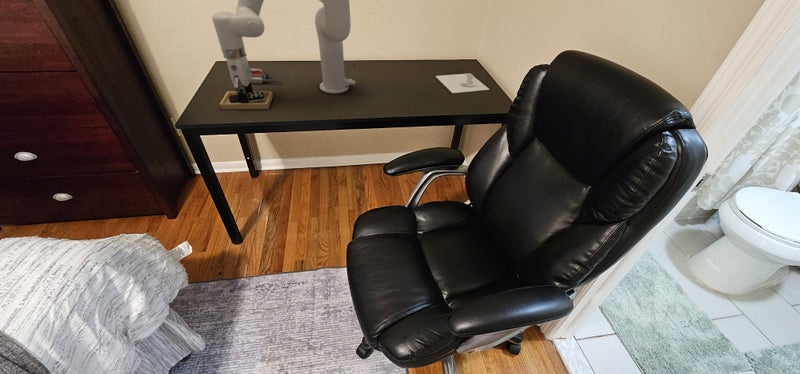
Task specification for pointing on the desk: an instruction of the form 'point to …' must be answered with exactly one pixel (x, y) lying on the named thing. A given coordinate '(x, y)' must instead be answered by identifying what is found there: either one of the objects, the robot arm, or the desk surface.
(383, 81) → the desk surface
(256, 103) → the tray
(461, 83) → the teacup and saucer
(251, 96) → the remote control
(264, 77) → the walkie-talkie
